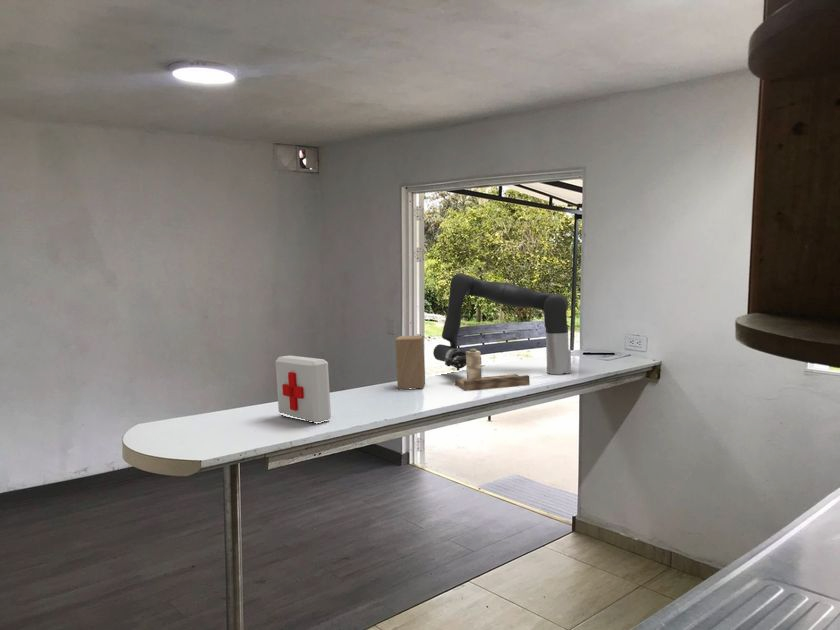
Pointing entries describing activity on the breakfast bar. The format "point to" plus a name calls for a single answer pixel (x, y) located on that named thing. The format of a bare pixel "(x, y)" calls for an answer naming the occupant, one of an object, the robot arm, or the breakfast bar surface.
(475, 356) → the mottled beige cylinder
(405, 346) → the wooden block
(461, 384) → the board
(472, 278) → the robot arm
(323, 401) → the bevelled white case
